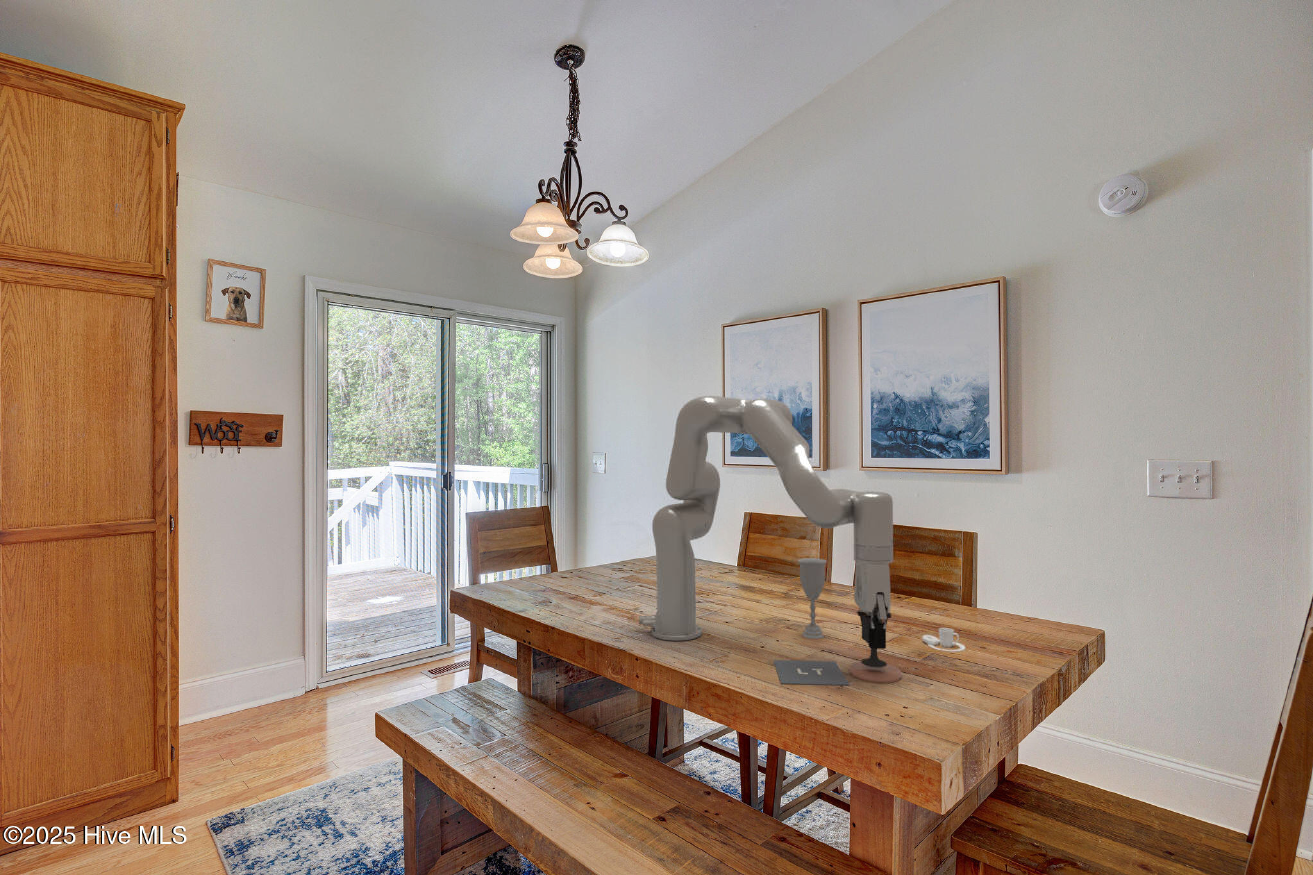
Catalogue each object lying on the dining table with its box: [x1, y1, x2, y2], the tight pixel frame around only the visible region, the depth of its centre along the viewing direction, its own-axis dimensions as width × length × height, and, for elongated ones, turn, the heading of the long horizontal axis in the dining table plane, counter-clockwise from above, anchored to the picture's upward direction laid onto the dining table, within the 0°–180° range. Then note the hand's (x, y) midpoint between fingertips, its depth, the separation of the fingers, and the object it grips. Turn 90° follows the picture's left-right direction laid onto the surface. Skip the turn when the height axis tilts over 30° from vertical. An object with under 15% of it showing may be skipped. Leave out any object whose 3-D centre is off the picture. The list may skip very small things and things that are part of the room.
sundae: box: [856, 607, 892, 667], centre depth 128 cm, size 7×7×15 cm
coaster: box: [848, 661, 903, 684], centre depth 128 cm, size 10×10×1 cm
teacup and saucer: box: [921, 627, 966, 653], centre depth 145 cm, size 9×8×4 cm
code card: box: [773, 659, 851, 686], centre depth 129 cm, size 13×13×1 cm
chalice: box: [797, 557, 828, 640], centre depth 153 cm, size 7×7×18 cm
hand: (873, 642), depth 128 cm, fingers closed on sundae, 4 cm apart
